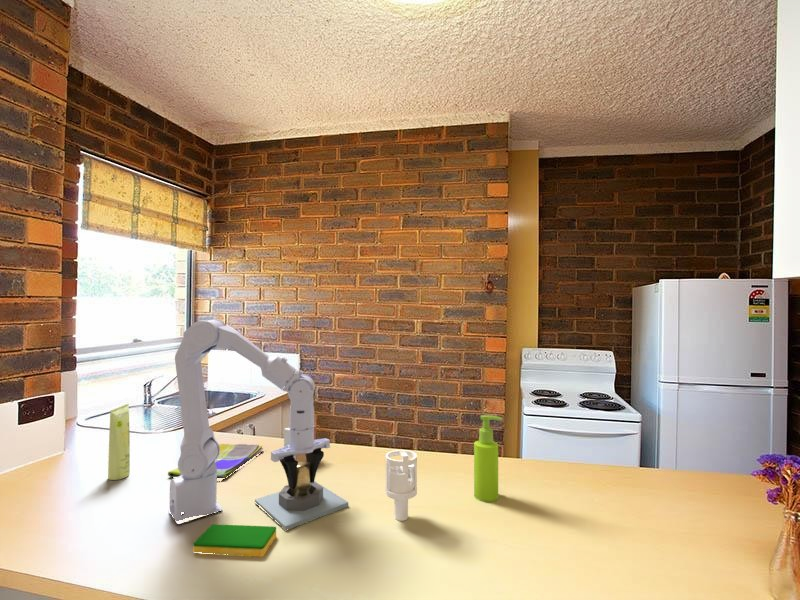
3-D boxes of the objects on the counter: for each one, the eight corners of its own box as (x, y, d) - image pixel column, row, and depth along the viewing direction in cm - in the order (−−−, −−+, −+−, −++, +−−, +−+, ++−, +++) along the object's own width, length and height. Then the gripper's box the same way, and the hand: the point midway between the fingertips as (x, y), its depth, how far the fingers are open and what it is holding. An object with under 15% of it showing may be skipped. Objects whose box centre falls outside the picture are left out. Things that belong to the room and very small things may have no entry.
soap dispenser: (503, 503, 98) (503, 420, 99) (474, 500, 100) (473, 418, 100) (502, 492, 104) (501, 413, 104) (474, 490, 105) (474, 412, 106)
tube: (132, 477, 112) (132, 406, 113) (109, 483, 109) (110, 409, 109) (127, 471, 117) (128, 403, 117) (106, 476, 113) (106, 405, 113)
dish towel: (164, 480, 112) (164, 470, 112) (216, 449, 136) (216, 441, 136) (223, 484, 110) (223, 474, 110) (265, 452, 134) (265, 444, 134)
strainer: (389, 527, 87) (389, 457, 88) (382, 511, 94) (382, 446, 94) (421, 523, 89) (421, 454, 89) (411, 507, 96) (411, 443, 96)
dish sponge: (212, 535, 85) (212, 523, 85) (276, 537, 84) (276, 526, 84) (192, 556, 78) (192, 543, 78) (262, 559, 77) (262, 546, 77)
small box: (295, 467, 120) (295, 431, 120) (283, 463, 123) (283, 428, 123) (316, 459, 126) (316, 425, 126) (304, 455, 129) (304, 422, 130)
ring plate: (285, 531, 86) (285, 514, 86) (254, 503, 98) (254, 488, 98) (348, 506, 97) (348, 491, 97) (313, 484, 108) (313, 471, 109)
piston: (296, 500, 94) (296, 470, 94) (287, 494, 98) (287, 465, 98) (314, 494, 97) (313, 465, 98) (304, 489, 101) (304, 460, 101)
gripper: (280, 437, 90) (280, 499, 89) (336, 424, 99) (336, 480, 99) (267, 430, 95) (266, 489, 95) (321, 418, 105) (321, 472, 104)
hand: (301, 484), depth 97 cm, fingers closed on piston, 4 cm apart
